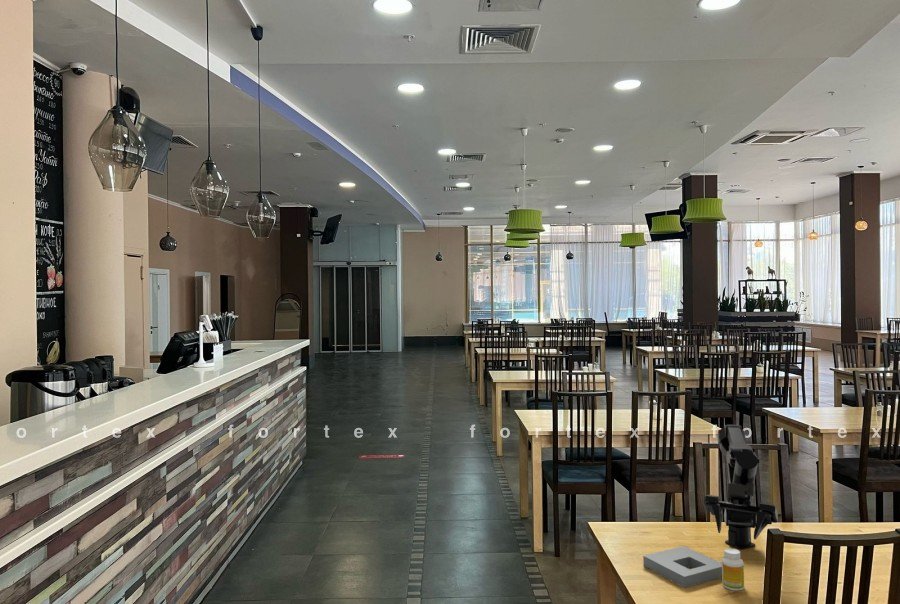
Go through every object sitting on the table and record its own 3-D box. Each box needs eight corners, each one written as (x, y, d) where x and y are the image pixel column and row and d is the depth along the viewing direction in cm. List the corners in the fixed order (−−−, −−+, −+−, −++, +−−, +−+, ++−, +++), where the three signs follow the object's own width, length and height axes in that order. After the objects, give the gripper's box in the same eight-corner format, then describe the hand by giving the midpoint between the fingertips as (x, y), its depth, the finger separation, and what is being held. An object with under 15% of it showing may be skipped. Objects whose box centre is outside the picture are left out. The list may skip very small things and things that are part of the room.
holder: (684, 555, 188) (684, 545, 188) (727, 575, 173) (727, 565, 173) (643, 565, 181) (643, 555, 181) (684, 587, 166) (684, 576, 166)
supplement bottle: (746, 592, 163) (745, 555, 163) (725, 590, 164) (724, 554, 164) (741, 583, 168) (740, 547, 169) (720, 581, 170) (719, 546, 170)
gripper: (704, 467, 181) (695, 515, 172) (774, 475, 170) (769, 527, 161) (711, 487, 187) (703, 534, 178) (779, 496, 177) (775, 547, 167)
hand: (736, 535), depth 171 cm, fingers open, 9 cm apart
